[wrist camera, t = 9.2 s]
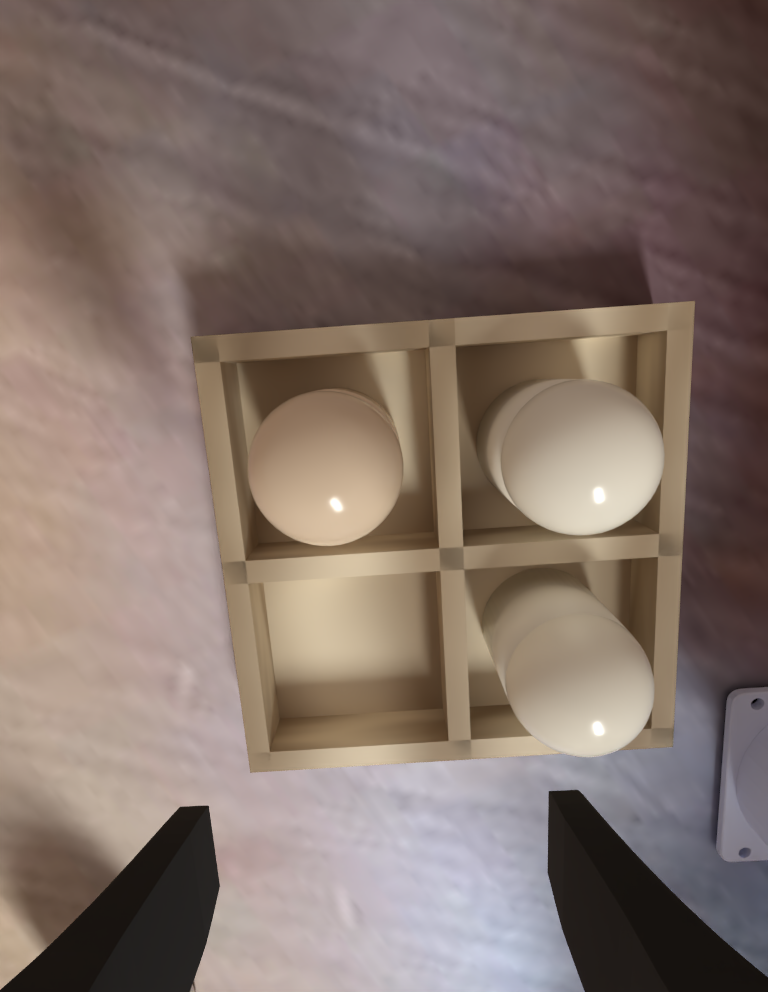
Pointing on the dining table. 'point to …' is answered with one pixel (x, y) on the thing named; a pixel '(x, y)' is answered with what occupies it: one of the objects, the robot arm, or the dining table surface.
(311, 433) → the brown egg
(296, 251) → the dining table surface
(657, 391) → the caddy
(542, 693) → the cream egg
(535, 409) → the cream egg
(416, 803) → the dining table surface
